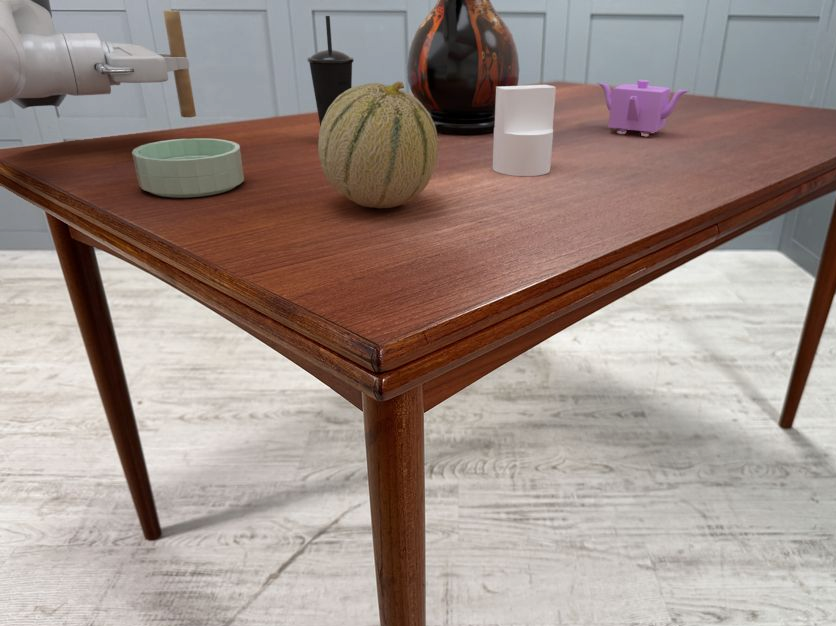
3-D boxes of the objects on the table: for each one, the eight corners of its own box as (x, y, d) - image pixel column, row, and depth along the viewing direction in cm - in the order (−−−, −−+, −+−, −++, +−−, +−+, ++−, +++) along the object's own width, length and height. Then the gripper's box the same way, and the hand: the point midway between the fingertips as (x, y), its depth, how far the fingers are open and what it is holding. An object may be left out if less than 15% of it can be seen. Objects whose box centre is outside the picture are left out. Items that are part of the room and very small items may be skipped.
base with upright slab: (509, 178, 99) (514, 92, 93) (482, 164, 106) (485, 84, 100) (561, 173, 102) (568, 90, 96) (531, 160, 109) (537, 82, 103)
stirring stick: (180, 117, 112) (162, 10, 104) (181, 115, 114) (163, 10, 106) (195, 117, 113) (178, 11, 105) (196, 114, 115) (179, 10, 107)
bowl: (135, 202, 84) (126, 162, 82) (145, 176, 95) (138, 140, 93) (246, 195, 88) (240, 157, 85) (243, 171, 99) (238, 136, 96)
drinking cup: (336, 135, 123) (328, 14, 114) (366, 141, 119) (360, 16, 110) (305, 141, 118) (293, 15, 108) (336, 148, 114) (327, 17, 104)
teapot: (580, 133, 130) (586, 80, 125) (600, 123, 140) (606, 73, 135) (674, 144, 123) (683, 88, 118) (687, 133, 133) (697, 80, 128)
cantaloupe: (329, 189, 91) (319, 71, 84) (436, 189, 92) (436, 73, 85) (315, 223, 78) (303, 88, 71) (440, 223, 79) (440, 89, 72)
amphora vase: (428, 115, 144) (427, -34, 130) (525, 122, 139) (535, -32, 126) (391, 133, 126) (386, -38, 112) (502, 142, 121) (511, -36, 107)
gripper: (95, 47, 94) (197, 46, 100) (79, 36, 109) (168, 35, 115) (105, 95, 97) (203, 90, 103) (88, 78, 112) (175, 74, 118)
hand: (185, 61), depth 110 cm, fingers closed on stirring stick, 2 cm apart
